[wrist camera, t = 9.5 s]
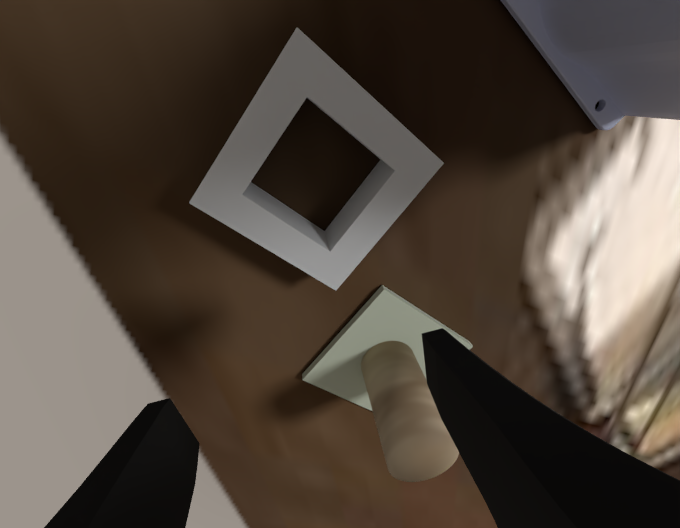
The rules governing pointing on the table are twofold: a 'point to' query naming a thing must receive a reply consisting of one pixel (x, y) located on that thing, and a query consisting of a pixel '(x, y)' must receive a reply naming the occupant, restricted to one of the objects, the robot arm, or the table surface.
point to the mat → (371, 344)
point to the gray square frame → (263, 133)
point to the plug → (406, 414)
